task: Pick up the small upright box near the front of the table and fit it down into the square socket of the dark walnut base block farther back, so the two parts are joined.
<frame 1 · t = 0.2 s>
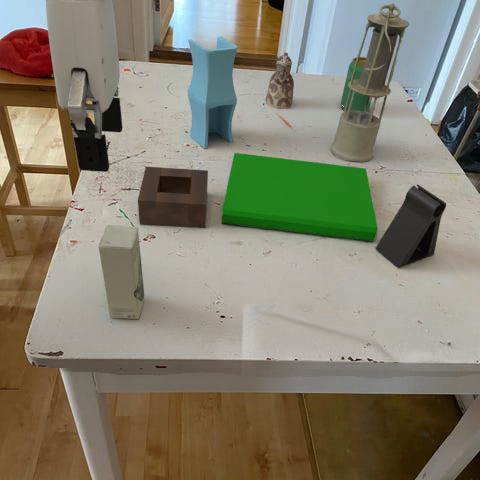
hand: (102, 149, 55), 23 cm above the table, tool pointing down, fingers open, 9 cm apart
vase: (210, 139, 111), on the table
socket: (175, 208, 89), on the table
lamp: (350, 154, 111), on the table
book: (297, 202, 95), on the table
phone stand: (403, 253, 85), on the table
figurine: (278, 103, 129), on the table
beverage can: (354, 109, 130), on the table
box: (127, 307, 70), on the table
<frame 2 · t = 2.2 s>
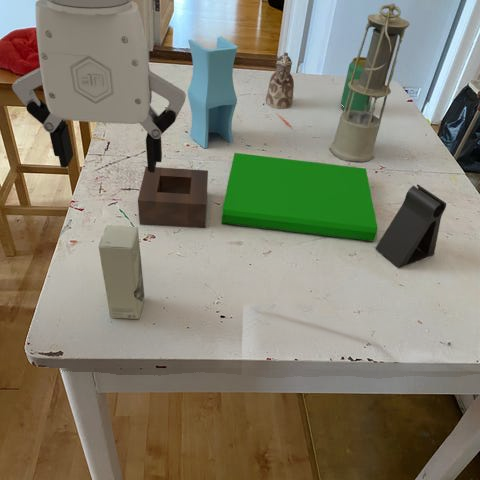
hand: (110, 164, 54), 23 cm above the table, tool pointing down, fingers open, 9 cm apart
nothing on the table moved.
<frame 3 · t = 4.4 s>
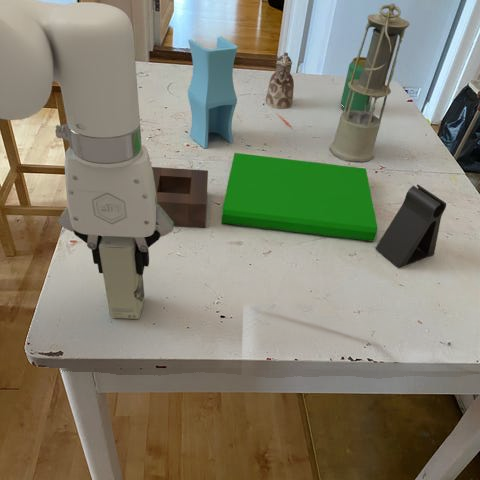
hand: (122, 266, 65), 8 cm above the table, tool pointing down, fingers closed on box, 4 cm apart
box: (127, 307, 70), on the table, touching gripper
everything else where it was.
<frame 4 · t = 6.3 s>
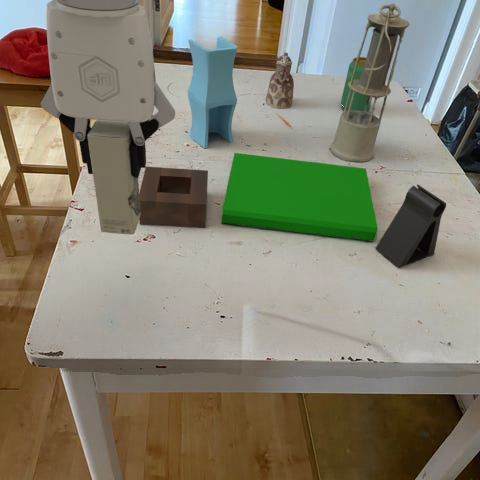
hand: (115, 168, 56), 21 cm above the table, tool pointing down, fingers closed on box, 4 cm apart
box: (121, 224, 62), point 13 cm above the table, touching gripper
everything else where it was.
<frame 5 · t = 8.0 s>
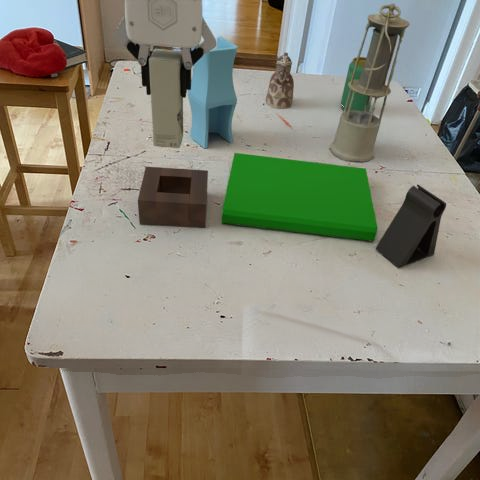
hand: (167, 91, 71), 22 cm above the table, tool pointing down, fingers closed on box, 4 cm apart
box: (168, 142, 77), point 14 cm above the table, touching gripper
everything else where it was.
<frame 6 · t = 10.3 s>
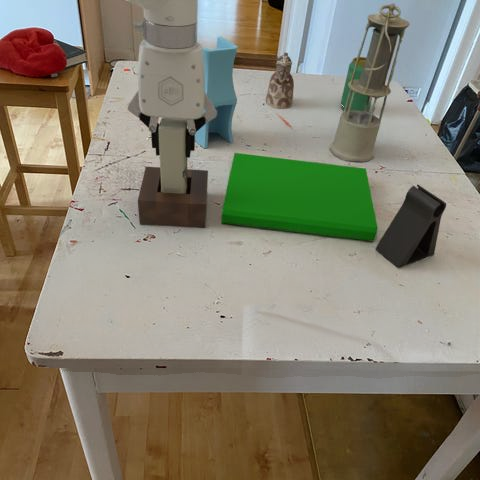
hand: (173, 151, 81), 11 cm above the table, tool pointing down, fingers closed on box, 4 cm apart
box: (174, 192, 87), point 3 cm above the table, touching gripper
everything else where it was.
when the fingers open (8 cm above the table, at t = 11.7 s): box stays where it is, resting in socket.
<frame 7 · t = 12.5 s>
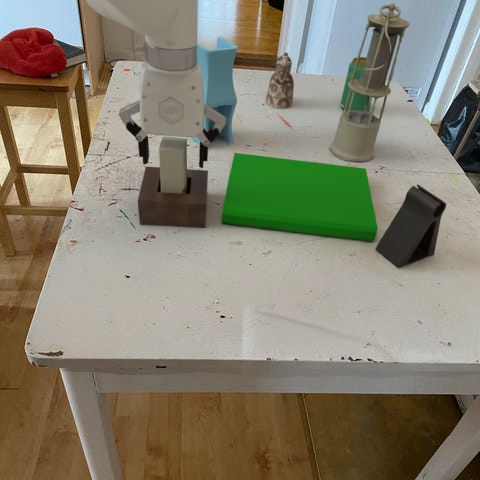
hand: (173, 162, 83), 9 cm above the table, tool pointing down, fingers open, 9 cm apart
box: (174, 209, 89), resting in socket
everything else where it was.
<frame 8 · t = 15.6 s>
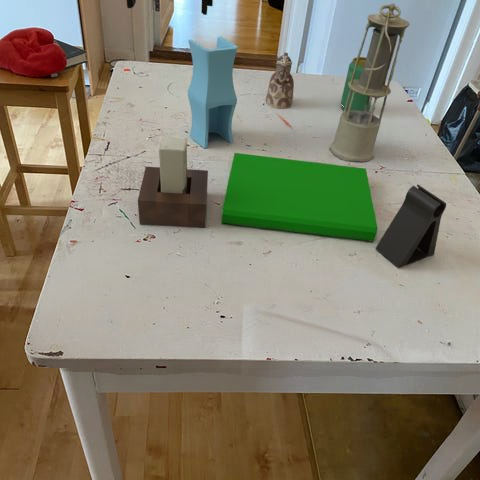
hand: (168, 8, 63), 33 cm above the table, tool pointing down, fingers open, 9 cm apart
nothing on the table moved.
at the end: box 0.1 cm off-centre in the socket, point 0.0 cm above the socket's base; box tilted 0°; the gripper is holding nothing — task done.
